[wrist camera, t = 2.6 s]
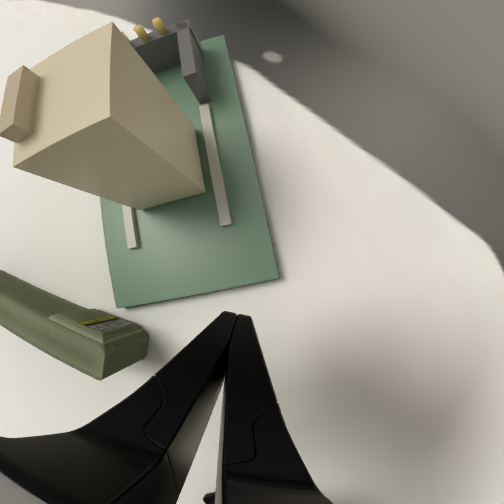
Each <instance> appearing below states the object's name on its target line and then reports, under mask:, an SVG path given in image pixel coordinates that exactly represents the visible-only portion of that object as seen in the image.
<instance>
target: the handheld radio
mask: <svg viewBox="0 0 504 504" xmlns="http://www.w3.org/2000/svg"><path fill="white" fill-rule="evenodd" d="M0 325H1V326H3V327H4V328H6V329H7V330H9V331H11V332H12V333H14V334H15V335H17V336H18V337H20V338H22V339H23V340H25V341H26V342H28V343H30V344H31V345H33V346H35V347H37V348H38V349H40V350H42V351H43V352H45V353H47V354H49V355H50V356H52V357H54V358H56V359H58V360H60V361H61V362H63V363H65V364H67V365H69V366H71V367H73V368H75V369H77V370H79V371H81V372H83V373H85V374H87V375H89V376H91V377H93V378H95V379H97V380H102V379H104V378H106V377H108V376H110V375H112V374H114V373H116V372H118V371H120V370H122V369H124V368H126V367H128V366H130V365H132V364H134V363H136V362H138V361H139V360H141V359H143V358H144V357H145V356H146V353H147V346H148V338H149V337H148V334H147V332H146V331H144V330H142V329H141V327H140V326H138V325H136V324H134V323H131V322H129V321H126V320H123V319H120V318H118V317H115V316H112V315H109V314H107V313H104V312H102V311H99V310H96V309H86V308H84V307H81V306H79V305H76V304H74V303H72V302H69V301H67V300H65V299H62V298H60V297H58V296H55V295H53V294H51V293H48V292H46V291H44V290H42V289H40V288H37V287H35V286H33V285H31V284H29V283H27V282H25V281H22V280H20V279H18V278H16V277H14V276H12V275H10V274H8V273H6V272H4V271H2V270H0Z"/></svg>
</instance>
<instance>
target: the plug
mask: <svg viewBox="0 0 504 504" xmlns="http://www.w3.org/2000/svg"><path fill="white" fill-rule="evenodd" d="M0 136H1V137H4V138H6V139H8V140H11V141H13V142H15V145H14V160H13V167H15V168H18V169H21V170H24V171H26V172H29V173H32V174H35V175H38V176H41V177H44V178H47V179H50V180H53V181H56V182H59V183H61V184H64V185H67V186H70V187H73V188H76V189H79V190H82V191H85V192H88V193H91V194H93V195H96V196H99V197H102V198H105V199H108V200H111V201H114V202H117V203H120V204H122V205H125V206H128V207H131V208H134V209H137V210H143V209H147V208H150V207H153V206H157V205H160V204H164V203H167V202H171V201H175V200H178V199H182V198H186V197H189V196H193V195H197V194H201V193H204V192H206V190H205V185H204V179H203V174H202V168H201V162H200V156H199V151H198V145H197V139H196V133H195V127H194V126H193V124H192V123H191V122H190V120H189V119H188V118H187V116H186V115H185V114H184V112H183V111H182V110H181V108H180V107H179V106H178V105H177V103H176V102H175V101H174V99H173V98H172V97H171V95H170V94H169V93H168V92H167V90H166V89H165V88H164V86H163V85H162V84H161V82H160V81H159V80H158V79H157V77H156V76H155V75H154V73H153V72H152V71H151V70H150V68H149V67H148V66H147V64H146V63H145V62H144V61H143V59H142V58H141V57H140V56H139V54H138V53H137V52H136V51H135V49H134V48H133V47H132V45H131V44H130V43H129V42H128V40H127V39H126V38H125V37H124V35H123V34H122V33H121V32H120V30H119V29H118V28H117V27H116V26H115V24H114V23H113V22H111V23H109V24H107V25H105V26H103V27H101V28H99V29H97V30H95V31H93V32H91V33H89V34H87V35H85V36H83V37H82V38H80V39H78V40H76V41H74V42H73V43H71V44H69V45H67V46H66V47H64V48H62V49H61V50H59V51H57V52H56V53H54V54H53V55H51V56H49V57H48V58H46V59H45V60H43V61H42V62H40V63H39V64H37V65H36V66H34V67H33V68H31V69H30V70H29V69H28V68H27V67H25V66H24V65H23V66H22V67H20V68H19V69H18V70H16V71H15V72H14V73H12V74H11V75H10V76H8V80H7V84H6V89H5V94H4V99H3V104H2V110H1V116H0Z"/></svg>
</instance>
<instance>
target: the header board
mask: <svg viewBox="0 0 504 504" xmlns="http://www.w3.org/2000/svg"><path fill="white" fill-rule="evenodd" d="M152 23H153V25H154V26H155V28H156V29H157V30H156V31H153V32H151V33H148V34H147V33H146V31H145V30H144V28H143V27H142V26H141V25H140V24H139V25H136V26H135V27H134V31H135V32H136V33H137V35H138V36H139V37H138V38H136V39H134V40H131V41H130V40H129V39H128V38H127V37H126V35H125V34H124V33H123V32H121V33H122V34H123V35H124V37H125V38H126V39H127V40H128V42H129V43H130V44H131V45H132V47H133V48H134V49H135V51H136V52H137V53H138V54H139V56H140V57H141V58H142V59H143V61H144V62H145V63H146V64H147V66H148V67H149V68H150V70H151V71H152V72H153V73H154V75H155V76H156V77H157V79H158V80H159V81H160V82H161V84H162V85H163V86H164V88H165V89H166V90H167V92H168V93H169V94H170V95H171V97H172V98H173V99H174V101H175V102H176V103H177V105H178V106H179V107H180V108H181V110H182V111H183V112H184V114H185V115H186V116H187V118H188V119H189V120H190V122H191V123H192V124H193V126H194V127H195V133H196V139H197V145H198V151H199V156H200V162H201V168H202V174H203V179H204V185H205V190H206V192H204V193H201V194H197V195H193V196H189V197H186V198H182V199H178V200H175V201H171V202H167V203H164V204H160V205H157V206H153V207H150V208H147V209H143V210H137V209H134V208H131V207H128V206H125V205H122V204H120V203H117V202H114V201H111V200H108V199H105V198H102V197H100V201H101V211H102V220H103V229H104V236H105V244H106V251H107V257H108V264H109V270H110V276H111V281H112V287H113V292H114V297H115V302H116V307H117V308H123V307H129V306H135V305H141V304H146V303H152V302H158V301H163V300H169V299H174V298H180V297H185V296H191V295H196V294H201V293H206V292H212V291H217V290H222V289H227V288H232V287H237V286H242V285H248V284H253V283H257V282H262V281H267V280H272V279H277V278H279V274H278V269H277V264H276V259H275V255H274V250H273V245H272V240H271V236H270V231H269V226H268V222H267V217H266V212H265V208H264V203H263V199H262V194H261V190H260V185H259V181H258V176H257V172H256V167H255V163H254V158H253V154H252V149H251V145H250V141H249V136H248V132H247V128H246V123H245V119H244V115H243V111H242V106H241V102H240V98H239V94H238V90H237V85H236V81H235V77H234V73H233V69H232V65H231V61H230V57H229V53H228V48H227V45H226V41H225V38H224V35H221V36H218V37H214V38H210V39H207V40H203V41H200V42H199V40H198V37H197V35H196V33H195V31H194V29H193V27H192V25H191V23H190V20H189V19H188V20H185V21H182V22H179V23H176V24H173V25H170V26H167V27H165V26H164V25H163V23H162V21H161V19H160V18H159V17H157V18H154V19H153V20H152Z"/></svg>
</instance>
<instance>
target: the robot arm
mask: <svg viewBox="0 0 504 504" xmlns="http://www.w3.org/2000/svg"><path fill="white" fill-rule="evenodd" d="M224 378H225V381H224ZM223 382H224V390H223V402H222V414H221V427H220V439H219V452H218V465H217V479H216V492H215V493H210V494H206V495H205V496H204V498H203V501H204V502H205V503H206V504H333V503H332V502H331V501H330V500H329V499H327V498H326V497H325V496H324V495H323V494H322V493H321V491H320V490H319V489H318V488H317V486H316V485H315V483H314V481H313V480H312V478H311V476H310V474H309V472H308V470H307V468H306V466H305V464H304V463H303V461H302V459H301V457H300V455H299V453H298V451H297V449H296V447H295V445H294V443H293V441H292V438H291V436H290V434H289V432H288V430H287V427H286V425H285V422H284V419H283V416H282V414H281V410H280V407H279V404H278V403H277V398H276V395H275V392H274V389H273V386H272V382H271V379H270V376H269V373H268V370H267V366H266V363H265V360H264V357H263V353H262V350H261V347H260V344H259V340H258V337H257V334H256V330H255V327H254V324H253V321H252V318H251V317H250V316H247V315H242V314H238V315H237V314H236V313H232V312H227V311H224V312H222V313H221V314H220V315H219V316H218V317H217V318H216V319H215V320H214V321H213V322H212V323H210V324H209V325H208V326H207V327H206V328H205V329H204V330H203V331H202V332H201V333H200V334H199V335H197V336H196V337H195V338H194V339H193V340H192V341H191V342H190V343H189V344H188V345H187V346H186V347H184V348H183V349H182V350H181V351H180V352H179V353H178V354H177V355H176V356H175V357H173V358H172V359H171V360H170V361H169V362H168V363H167V364H166V365H165V366H164V367H162V368H161V369H160V370H159V371H158V372H157V373H156V374H155V376H152V377H151V378H150V379H149V380H148V381H147V382H146V383H145V384H143V385H142V386H141V387H140V388H139V389H137V390H136V391H135V392H134V393H132V394H131V395H130V396H128V397H127V398H126V399H124V400H123V401H121V402H120V403H118V404H117V405H115V406H114V407H112V408H111V409H109V410H108V411H106V412H105V413H103V414H102V415H100V416H99V417H97V418H96V419H94V420H93V421H91V422H90V423H88V424H86V425H85V426H83V427H81V428H79V429H76V430H73V431H70V432H65V433H58V434H51V435H42V436H33V437H23V438H5V437H0V504H176V502H177V500H178V497H179V495H180V492H181V490H182V487H183V485H184V482H185V480H186V477H187V475H188V472H189V470H190V467H191V465H192V462H193V460H194V457H195V455H196V452H197V450H198V447H199V444H200V442H201V439H202V437H203V434H204V432H205V429H206V427H207V424H208V421H209V419H210V416H211V414H212V411H213V408H214V406H215V403H216V401H217V398H218V395H219V393H220V390H221V387H222V385H223ZM209 499H210V500H209Z"/></svg>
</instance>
